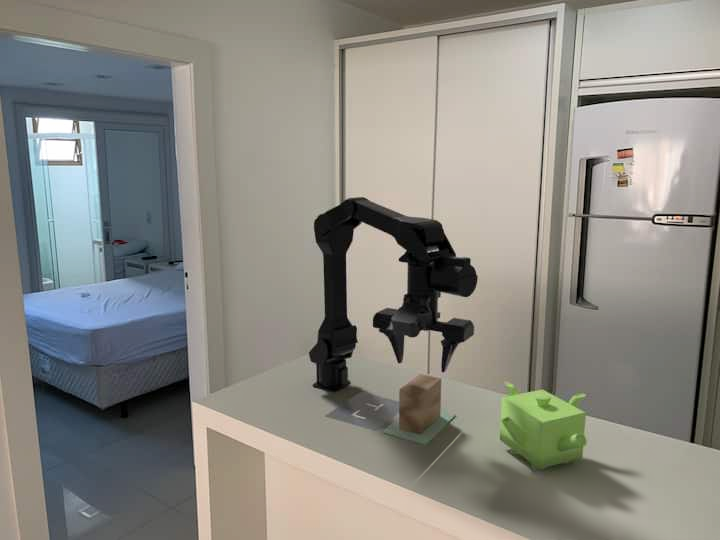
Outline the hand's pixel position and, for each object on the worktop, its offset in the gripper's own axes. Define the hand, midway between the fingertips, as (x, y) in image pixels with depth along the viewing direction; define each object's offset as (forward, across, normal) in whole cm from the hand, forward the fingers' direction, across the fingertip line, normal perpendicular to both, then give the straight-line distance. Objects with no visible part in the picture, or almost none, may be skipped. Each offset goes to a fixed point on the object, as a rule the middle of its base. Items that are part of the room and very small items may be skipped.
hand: (421, 367), depth 108 cm
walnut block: (+11, 0, 0) cm, 11 cm away
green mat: (+12, 0, 0) cm, 12 cm away
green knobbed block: (+12, +23, +1) cm, 26 cm away
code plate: (+12, -12, 0) cm, 17 cm away
